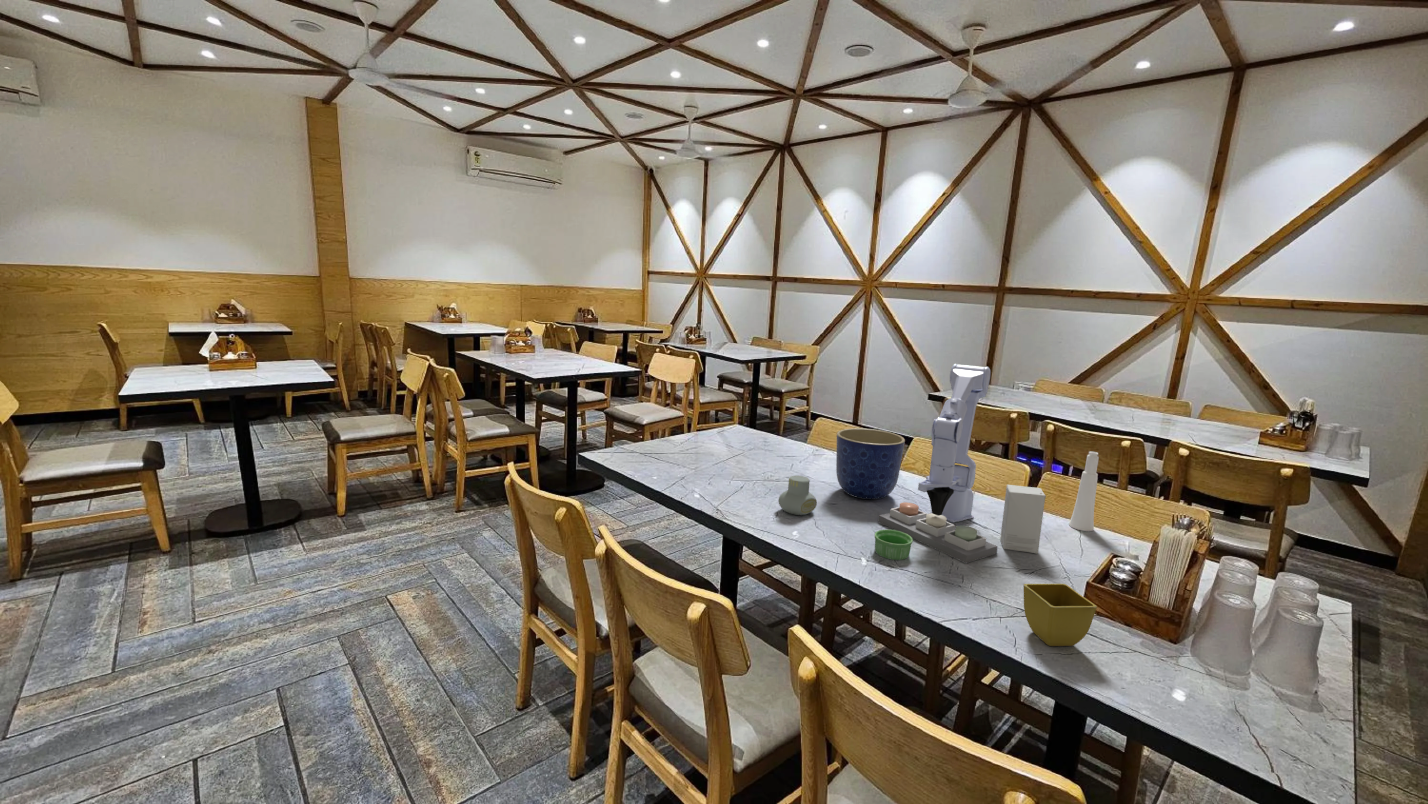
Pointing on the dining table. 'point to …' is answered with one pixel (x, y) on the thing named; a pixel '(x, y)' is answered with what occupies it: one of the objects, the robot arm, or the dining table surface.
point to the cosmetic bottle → (1086, 496)
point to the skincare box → (1022, 518)
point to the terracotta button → (908, 509)
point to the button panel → (938, 536)
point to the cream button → (936, 520)
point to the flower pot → (1057, 613)
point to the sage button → (966, 533)
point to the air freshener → (797, 497)
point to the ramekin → (892, 544)
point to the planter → (868, 462)
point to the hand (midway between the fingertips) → (936, 513)
